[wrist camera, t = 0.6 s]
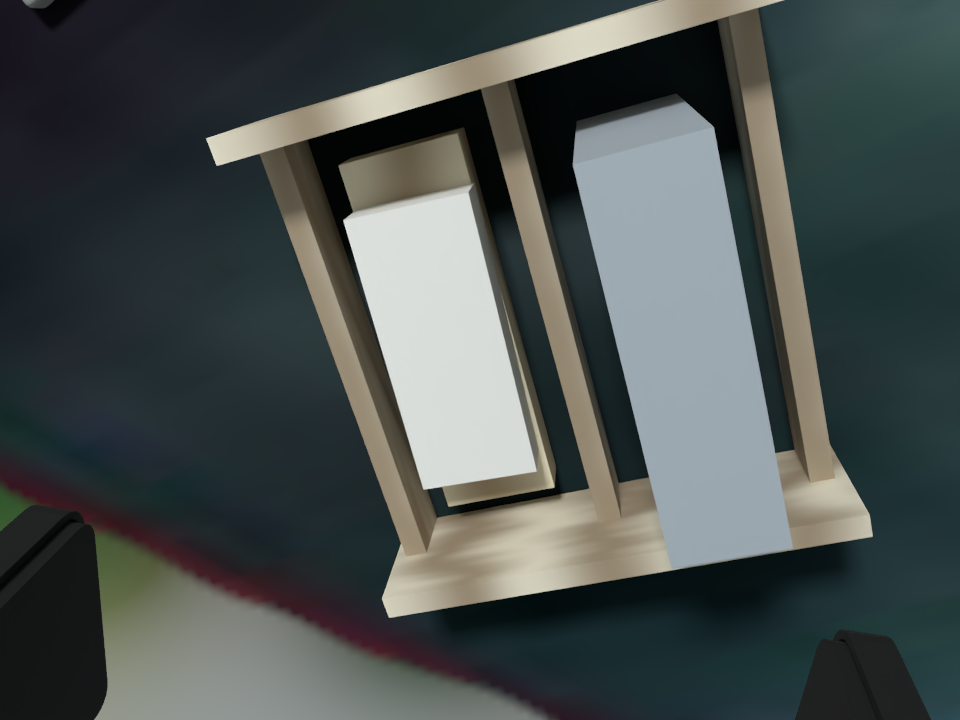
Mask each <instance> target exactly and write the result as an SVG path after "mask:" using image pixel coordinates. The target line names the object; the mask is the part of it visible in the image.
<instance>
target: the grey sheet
mask: <svg viewBox="0 0 960 720" xmlns="http://www.w3.org/2000/svg"><path fill="white" fill-rule="evenodd" d="M573 168H574V172H575V176H576V180H577V184H578V188H579V192H580V197H581V201H582V205H583V209H584V213H585V217H586V221H587V225H588V229H589V233H590V237H591V241H592V245H593V250H594V254H595V258H596V262H597V266H598V270H599V274H600V278H601V282H602V286H603V290H604V294H605V299H606V303H607V307H608V311H609V315H610V319H611V323H612V327H613V331H614V335H615V339H616V343H617V348H618V352H619V356H620V360H621V364H622V368H623V372H624V376H625V380H626V384H627V388H628V392H629V396H630V401H631V405H632V409H633V413H634V417H635V421H636V425H637V429H638V433H639V437H640V441H641V445H642V450H643V454H644V458H645V462H646V466H647V470H648V474H649V478H650V482H651V486H652V490H653V494H654V499H655V503H656V507H657V511H658V515H659V519H660V523H661V527H662V531H663V535H664V539H665V543H666V547H667V552H668V556H669V560H670V564H671V568H672V569H674V568H680V567H686V566H692V565H698V564H704V563H710V562H716V561H722V560H728V559H734V558H740V557H746V556H752V555H758V554H764V553H770V552H776V551H782V550H788V549H793V545H792V540H791V534H790V529H789V524H788V518H787V513H786V508H785V503H784V497H783V492H782V487H781V481H780V476H779V471H778V465H777V460H776V455H775V449H774V444H773V439H772V433H771V428H770V423H769V418H768V412H767V407H766V402H765V396H764V391H763V386H762V380H761V375H760V370H759V364H758V359H757V354H756V349H755V343H754V338H753V333H752V327H751V322H750V317H749V311H748V306H747V301H746V295H745V290H744V285H743V279H742V274H741V269H740V264H739V258H738V253H737V248H736V242H735V237H734V232H733V226H732V221H731V216H730V210H729V205H728V200H727V195H726V189H725V184H724V179H723V173H722V168H721V163H720V157H719V152H718V147H717V141H716V136H715V131H714V127H713V126H712V125H711V124H710V123H709V122H708V121H707V120H705V119H704V118H703V117H702V116H701V115H700V114H699V113H698V112H696V111H695V110H694V109H693V108H692V107H691V106H690V105H689V104H687V103H686V102H685V101H684V100H683V99H682V98H681V97H680V96H679V95H677V94H672V95H669V96H665V97H661V98H658V99H654V100H651V101H647V102H643V103H640V104H636V105H633V106H629V107H625V108H622V109H618V110H615V111H611V112H608V113H604V114H600V115H597V116H593V117H590V118H586V119H582V120H579V121H577V122H576V134H575V145H574V156H573Z"/></svg>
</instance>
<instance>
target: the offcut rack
mask: <svg viewBox="0 0 960 720" xmlns="http://www.w3.org/2000/svg"><path fill="white" fill-rule="evenodd" d="M779 1H782V0H659V1H655V2H652V3H649V4H645V5H642V6H639V7H636V8H632V9H629V10H626V11H622V12H619V13H616V14H612V15H609V16H606V17H602V18H599V19H596V20H592V21H589V22H586V23H582V24H579V25H576V26H572V27H569V28H566V29H562V30H559V31H556V32H552V33H549V34H546V35H543V36H539V37H536V38H533V39H529V40H526V41H523V42H519V43H516V44H513V45H509V46H506V47H503V48H499V49H496V50H493V51H489V52H486V53H483V54H479V55H476V56H473V57H469V58H466V59H463V60H459V61H456V62H453V63H450V64H446V65H443V66H440V67H436V68H433V69H430V70H426V71H423V72H420V73H416V74H413V75H410V76H406V77H403V78H400V79H396V80H393V81H390V82H386V83H383V84H380V85H376V86H373V87H370V88H366V89H363V90H360V91H357V92H353V93H350V94H347V95H343V96H340V97H337V98H333V99H330V100H327V101H323V102H320V103H317V104H313V105H310V106H307V107H303V108H300V109H297V110H293V111H290V112H287V113H283V114H280V115H277V116H273V117H270V118H267V119H264V120H261V121H257V122H254V123H251V124H248V125H245V126H242V127H239V128H236V129H233V130H230V131H227V132H224V133H221V134H218V135H215V136H212V137H209V138H206V139H207V142H208V144H209V147H210V150H211V152H212V155H213V158H214V160H215V163H216V165H217V166H218V165H222V164H225V163H229V162H232V161H236V160H239V159H242V158H246V157H249V156H253V155H256V154H259V153H260V156H261V159H262V161H263V164H264V167H265V170H266V172H267V175H268V178H269V181H270V183H271V186H272V189H273V192H274V194H275V197H276V200H277V203H278V205H279V208H280V211H281V214H282V216H283V219H284V222H285V225H286V227H287V230H288V233H289V236H290V238H291V241H292V244H293V247H294V249H295V252H296V255H297V258H298V260H299V263H300V266H301V269H302V271H303V274H304V277H305V280H306V282H307V285H308V288H309V291H310V293H311V296H312V299H313V302H314V304H315V307H316V310H317V313H318V315H319V318H320V321H321V324H322V326H323V329H324V332H325V335H326V337H327V340H328V343H329V346H330V348H331V351H332V354H333V357H334V359H335V362H336V365H337V368H338V370H339V373H340V376H341V379H342V381H343V384H344V387H345V390H346V392H347V395H348V398H349V401H350V403H351V406H352V409H353V412H354V414H355V417H356V420H357V423H358V425H359V428H360V431H361V434H362V436H363V439H364V442H365V445H366V447H367V450H368V453H369V456H370V458H371V461H372V464H373V467H374V470H375V472H376V475H377V478H378V481H379V483H380V486H381V489H382V492H383V494H384V497H385V500H386V503H387V505H388V508H389V511H390V514H391V516H392V519H393V522H394V525H395V527H396V530H397V533H398V536H399V538H400V541H401V546H400V548H399V551H398V554H397V557H396V560H395V563H394V566H393V569H392V571H391V574H390V577H389V580H388V583H387V586H386V589H385V592H384V594H383V597H382V600H383V603H384V606H385V608H386V611H387V614H388V616H389V618H391V617H397V616H403V615H409V614H415V613H421V612H427V611H432V610H438V609H444V608H450V607H456V606H462V605H468V604H474V603H480V602H486V601H492V600H498V599H504V598H510V597H516V596H522V595H528V594H534V593H540V592H546V591H552V590H558V589H564V588H570V587H575V586H581V585H587V584H593V583H599V582H605V581H611V580H617V579H623V578H629V577H635V576H641V575H647V574H653V573H659V572H665V571H671V570H677V569H683V568H689V567H695V566H701V565H707V564H713V563H718V562H724V561H730V560H736V559H742V558H748V557H754V556H760V555H766V554H772V553H778V552H784V551H790V550H796V549H802V548H808V547H814V546H820V545H826V544H832V543H838V542H844V541H850V540H855V539H861V538H867V537H873V535H872V528H871V521H870V515H869V513H868V511H867V509H866V508H865V506H864V504H863V502H862V501H861V499H860V497H859V495H858V493H857V492H856V490H855V488H854V486H853V485H852V483H851V481H850V479H849V478H848V476H847V474H846V472H845V470H844V469H843V467H842V465H841V463H840V462H839V460H838V458H837V456H836V455H835V453H834V451H833V449H832V447H831V446H830V444H829V438H828V432H827V425H826V419H825V413H824V407H823V401H822V395H821V389H820V383H819V377H818V371H817V365H816V358H815V352H814V346H813V340H812V334H811V328H810V322H809V316H808V310H807V304H806V298H805V292H804V285H803V279H802V273H801V267H800V261H799V255H798V249H797V243H796V237H795V231H794V225H793V218H792V212H791V206H790V200H789V194H788V188H787V182H786V176H785V170H784V164H783V158H782V151H781V145H780V139H779V133H778V127H777V121H776V115H775V109H774V103H773V97H772V91H771V84H770V78H769V72H768V66H767V60H766V54H765V48H764V42H763V36H762V30H761V24H760V18H759V11H758V7H762V6H765V5H769V4H772V3H775V2H779ZM714 20H717V21H718V27H719V32H720V38H721V44H722V49H723V55H724V60H725V66H726V71H727V77H728V83H729V88H730V94H731V99H732V105H733V110H734V116H735V121H736V127H737V133H738V138H739V144H740V149H741V155H742V160H743V166H744V172H745V177H746V183H747V188H748V194H749V199H750V205H751V210H752V216H753V222H754V227H755V233H756V238H757V244H758V249H759V255H760V261H761V266H762V272H763V277H764V283H765V288H766V294H767V300H768V305H769V311H770V316H771V322H772V327H773V333H774V338H775V344H776V350H777V355H778V361H779V366H780V372H781V377H782V383H783V389H784V394H785V400H786V405H787V411H788V416H789V422H790V428H791V433H792V439H793V444H794V450H791V451H786V452H780V453H775V455H776V460H777V465H778V471H779V476H780V481H781V487H782V492H783V497H784V503H785V508H786V513H787V518H788V524H789V529H790V534H791V540H792V545H793V549H788V550H782V551H776V552H770V553H764V554H758V555H752V556H746V557H740V558H734V559H728V560H722V561H716V562H710V563H704V564H698V565H692V566H686V567H680V568H674V569H672V568H671V564H670V560H669V556H668V552H667V547H666V543H665V539H664V535H663V531H662V527H661V523H660V519H659V515H658V511H657V507H656V503H655V499H654V494H653V490H652V486H651V482H650V478H644V479H639V480H633V481H628V482H623V483H619V482H618V478H617V474H616V471H615V467H614V463H613V459H612V455H611V451H610V447H609V444H608V440H607V436H606V432H605V428H604V424H603V420H602V417H601V413H600V409H599V405H598V401H597V397H596V393H595V389H594V386H593V382H592V378H591V374H590V370H589V366H588V362H587V359H586V355H585V351H584V347H583V343H582V339H581V335H580V332H579V328H578V324H577V320H576V316H575V312H574V308H573V305H572V301H571V297H570V293H569V289H568V285H567V281H566V278H565V274H564V270H563V266H562V262H561V258H560V254H559V251H558V247H557V243H556V239H555V235H554V231H553V227H552V223H551V220H550V216H549V212H548V208H547V204H546V200H545V196H544V193H543V189H542V185H541V181H540V177H539V173H538V169H537V166H536V162H535V158H534V154H533V150H532V146H531V142H530V139H529V135H528V131H527V127H526V123H525V119H524V115H523V112H522V108H521V104H520V100H519V96H518V92H517V88H516V84H515V81H514V79H516V78H519V77H523V76H526V75H529V74H533V73H536V72H540V71H543V70H546V69H550V68H553V67H557V66H560V65H564V64H567V63H570V62H574V61H577V60H581V59H584V58H587V57H591V56H594V55H598V54H601V53H605V52H608V51H611V50H615V49H618V48H622V47H625V46H629V45H632V44H635V43H639V42H642V41H646V40H649V39H652V38H656V37H659V36H663V35H666V34H670V33H673V32H676V31H680V30H683V29H687V28H690V27H693V26H697V25H700V24H704V23H707V22H711V21H714ZM478 89H481V91H482V95H483V99H484V102H485V106H486V110H487V113H488V117H489V121H490V124H491V128H492V132H493V136H494V139H495V143H496V147H497V150H498V154H499V158H500V161H501V165H502V169H503V172H504V176H505V180H506V183H507V187H508V191H509V194H510V198H511V202H512V205H513V209H514V213H515V216H516V220H517V224H518V227H519V231H520V235H521V238H522V242H523V246H524V249H525V253H526V257H527V260H528V264H529V268H530V271H531V275H532V279H533V282H534V286H535V290H536V293H537V297H538V301H539V304H540V308H541V312H542V315H543V319H544V323H545V326H546V330H547V334H548V337H549V341H550V345H551V348H552V352H553V356H554V359H555V363H556V367H557V371H558V374H559V378H560V382H561V385H562V389H563V393H564V396H565V400H566V404H567V407H568V411H569V415H570V418H571V422H572V426H573V429H574V433H575V437H576V440H577V444H578V448H579V451H580V455H581V459H582V462H583V466H584V470H585V473H586V477H587V481H588V484H589V488H590V489H586V490H581V491H576V492H570V493H565V494H560V495H555V496H549V497H544V498H539V499H534V500H528V501H523V502H518V503H513V504H507V505H502V506H497V507H491V508H486V509H481V510H476V511H470V512H465V513H460V514H455V515H449V516H444V517H439V518H437V516H436V513H435V510H434V508H433V505H432V502H431V499H430V496H429V493H428V490H427V489H425V490H423V487H422V483H421V480H420V477H419V473H418V470H417V467H416V463H415V460H414V456H413V453H412V450H411V446H410V443H409V440H408V436H407V433H406V430H405V426H404V423H403V420H402V416H401V413H400V410H399V406H398V403H397V400H396V397H395V394H394V391H393V388H392V385H391V382H390V379H389V377H388V374H387V371H386V368H385V365H384V362H383V359H382V356H381V353H380V350H379V347H378V344H377V342H376V339H375V336H374V333H373V330H372V327H371V324H370V321H369V318H368V315H367V312H366V310H365V307H364V304H363V301H362V298H361V295H360V292H359V289H358V286H357V283H356V280H355V278H354V275H353V272H352V269H351V266H350V263H349V260H348V257H347V254H346V251H345V248H344V246H343V243H342V240H341V237H340V234H339V231H338V228H337V225H336V222H335V219H334V216H333V213H332V211H331V208H330V205H329V202H328V199H327V196H326V193H325V190H324V187H323V184H322V181H321V179H320V176H319V173H318V170H317V167H316V164H315V161H314V158H313V155H312V152H311V149H310V147H309V144H308V141H307V139H311V138H314V137H318V136H321V135H324V134H328V133H331V132H335V131H338V130H341V129H345V128H348V127H352V126H355V125H359V124H362V123H365V122H369V121H372V120H376V119H379V118H382V117H386V116H389V115H393V114H396V113H400V112H403V111H406V110H410V109H413V108H417V107H420V106H423V105H427V104H430V103H434V102H437V101H441V100H444V99H447V98H451V97H454V96H458V95H461V94H464V93H468V92H471V91H475V90H478Z"/></svg>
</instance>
